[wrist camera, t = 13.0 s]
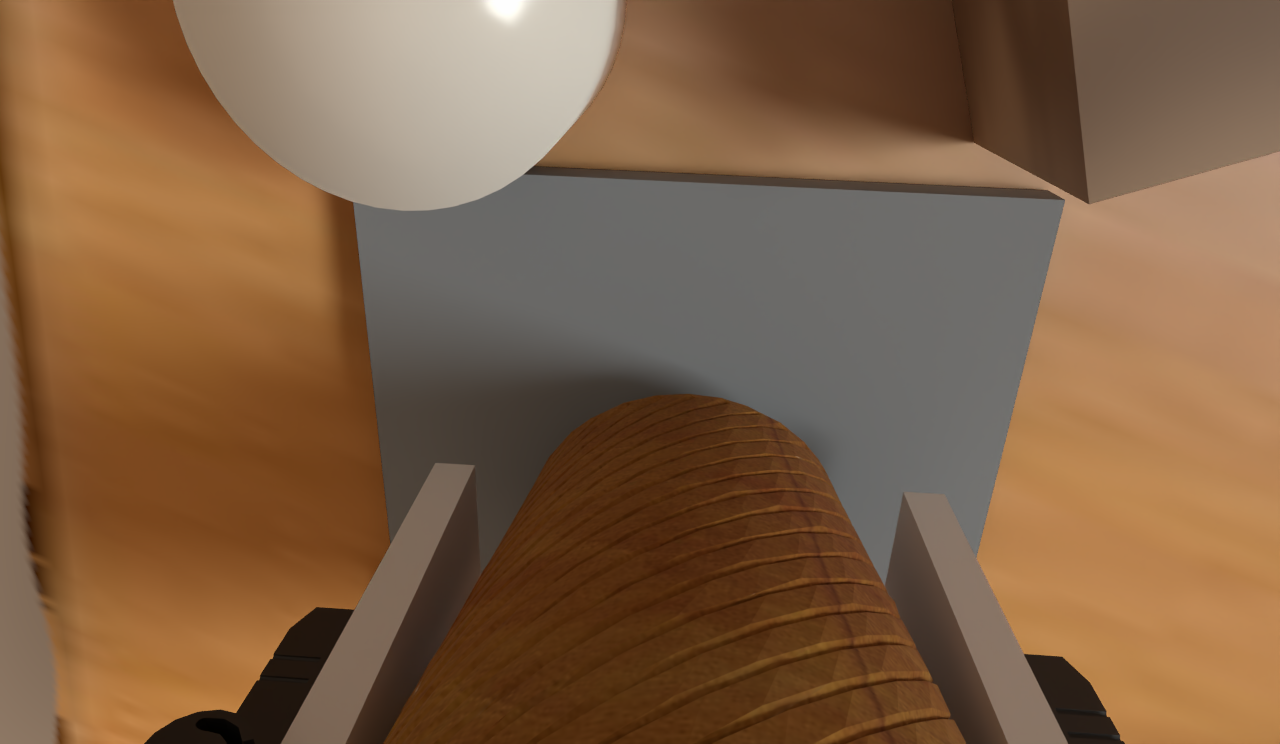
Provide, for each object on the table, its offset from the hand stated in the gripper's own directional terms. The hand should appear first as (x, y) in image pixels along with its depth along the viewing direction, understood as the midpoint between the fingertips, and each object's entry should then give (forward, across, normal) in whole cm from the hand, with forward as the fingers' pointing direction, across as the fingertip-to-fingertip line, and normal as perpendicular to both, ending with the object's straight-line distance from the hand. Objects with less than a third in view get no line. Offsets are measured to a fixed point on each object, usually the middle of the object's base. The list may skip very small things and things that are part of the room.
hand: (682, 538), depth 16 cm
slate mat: (+3, 0, 0) cm, 3 cm away
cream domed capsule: (+3, -5, +9) cm, 11 cm away
